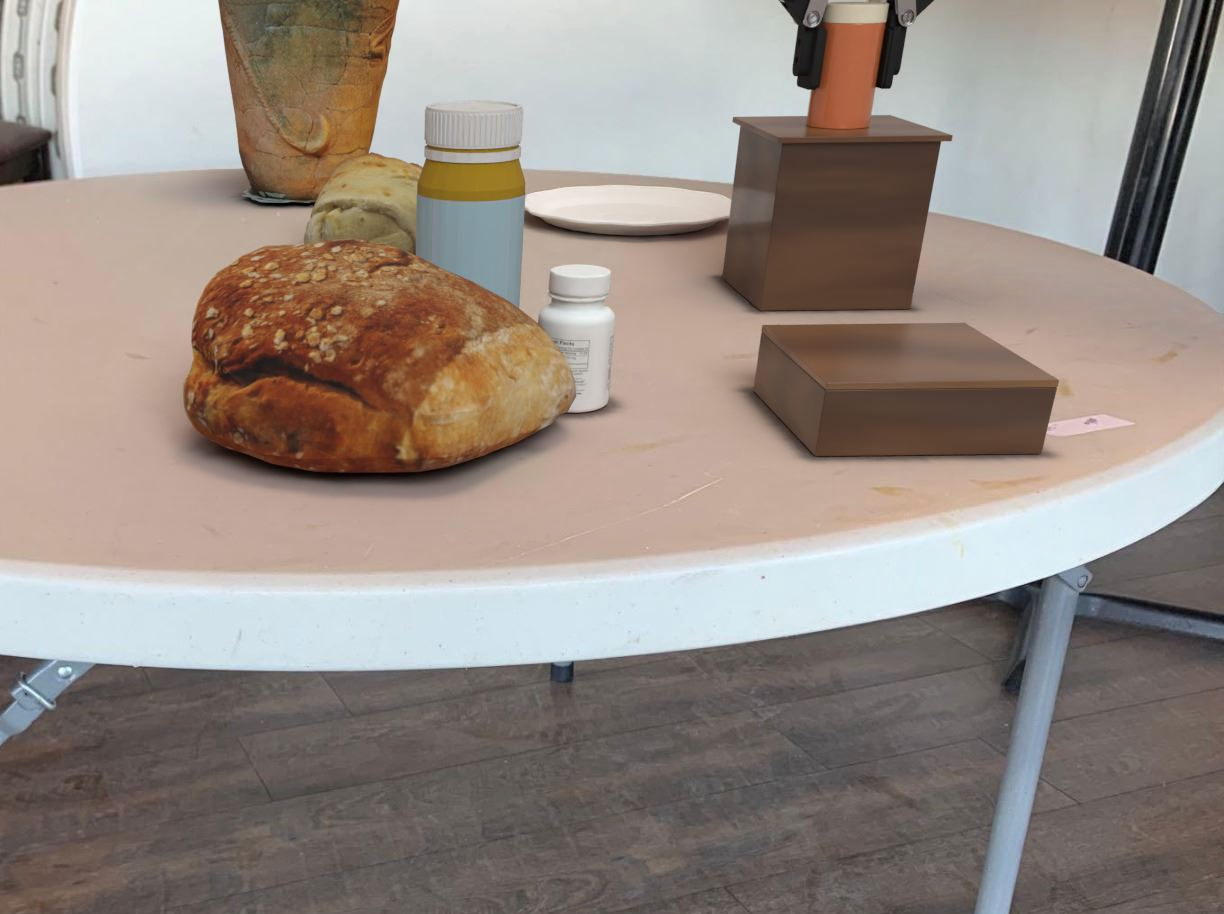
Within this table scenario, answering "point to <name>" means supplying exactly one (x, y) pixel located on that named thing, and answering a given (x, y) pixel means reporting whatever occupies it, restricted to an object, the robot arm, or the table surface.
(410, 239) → the pastry
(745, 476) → the table surface
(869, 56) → the spice jar
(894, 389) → the wooden lidded box
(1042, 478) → the table surface
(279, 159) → the vase
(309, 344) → the bread
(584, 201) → the plate
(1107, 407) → the table surface
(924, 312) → the table surface
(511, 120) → the bottle
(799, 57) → the robot arm
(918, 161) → the wooden cabinet block
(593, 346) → the pill bottle
